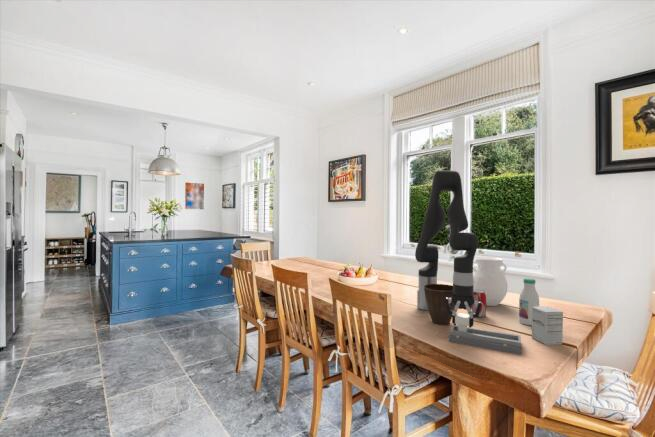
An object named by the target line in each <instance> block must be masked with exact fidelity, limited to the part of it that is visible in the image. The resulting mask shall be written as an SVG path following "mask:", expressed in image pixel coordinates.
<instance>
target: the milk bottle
mask: <svg viewBox="0 0 655 437" xmlns="http://www.w3.org/2000/svg"><path fill="white" fill-rule="evenodd" d="M522 281H523V282H522V283H523V287H522V289H521V291H520V294H519V300H518V301H519V304H518V305H519V307H518V310H519V311H518V321H519V323H520V324H523V325H526V326H531V327H532V307H540V298H539V294H538V292H537V290H536V287H535V285H536V279H534V278H527V277H525V278H523V280H522Z"/></svg>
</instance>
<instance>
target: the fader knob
mask: <svg viewBox="0 0 655 437" xmlns="http://www.w3.org/2000/svg"><path fill="white" fill-rule="evenodd" d="M469 318H470V316H469V313H461V312H456V315H455V324H456V325H458V331H461V332H467V327H469Z"/></svg>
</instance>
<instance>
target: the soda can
mask: <svg viewBox="0 0 655 437" xmlns="http://www.w3.org/2000/svg"><path fill="white" fill-rule="evenodd" d="M473 297H474V299H475V301H478V302H482V305H481V309H480V312H479V316H478V318H484V317H485V316H486V315H487V306H486V294H485V291H483V290H473ZM471 308H472V312H473V314H475V313H476V310H477V307H476V306H475V303H474V304H473V305H472V306H471Z"/></svg>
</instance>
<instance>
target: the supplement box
mask: <svg viewBox="0 0 655 437" xmlns="http://www.w3.org/2000/svg"><path fill="white" fill-rule="evenodd" d="M563 329H564V312H563V311H562V310H558V309H557V308H553V307H551V306H549V305H548V306H545V305H544V306H540V305H539V307H532V326H531V338H532V339H534V340H536V341H538V342H540V343H542V344H543V345H545V346H556V345H557V346H558V345H563V334H564V332H563V331H564V330H563Z"/></svg>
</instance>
